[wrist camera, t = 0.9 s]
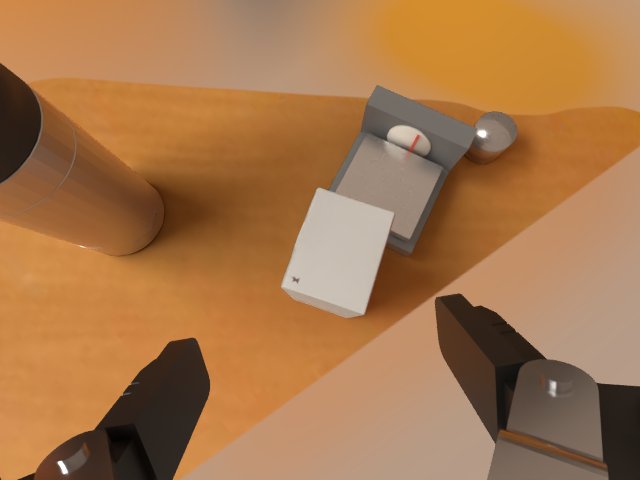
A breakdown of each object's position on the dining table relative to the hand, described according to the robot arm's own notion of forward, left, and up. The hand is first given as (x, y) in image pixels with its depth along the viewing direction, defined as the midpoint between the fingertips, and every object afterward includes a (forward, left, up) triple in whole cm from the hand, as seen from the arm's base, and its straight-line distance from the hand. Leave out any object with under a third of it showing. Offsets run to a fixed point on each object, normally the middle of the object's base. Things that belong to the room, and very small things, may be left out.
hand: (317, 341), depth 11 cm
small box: (-1, +6, -25) cm, 25 cm away
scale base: (0, +18, -24) cm, 30 cm away
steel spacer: (+8, +28, -25) cm, 38 cm away
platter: (0, +16, -22) cm, 28 cm away
